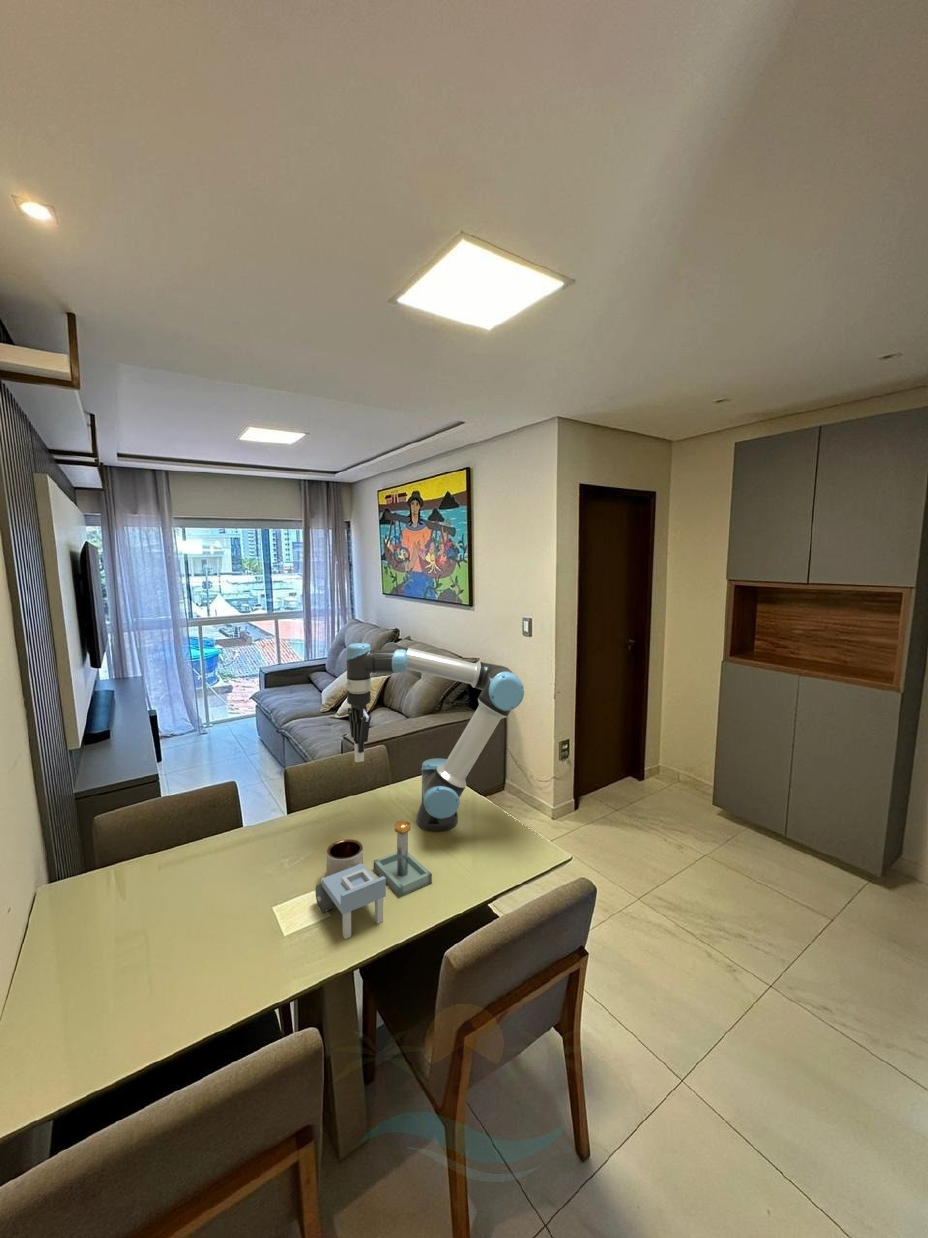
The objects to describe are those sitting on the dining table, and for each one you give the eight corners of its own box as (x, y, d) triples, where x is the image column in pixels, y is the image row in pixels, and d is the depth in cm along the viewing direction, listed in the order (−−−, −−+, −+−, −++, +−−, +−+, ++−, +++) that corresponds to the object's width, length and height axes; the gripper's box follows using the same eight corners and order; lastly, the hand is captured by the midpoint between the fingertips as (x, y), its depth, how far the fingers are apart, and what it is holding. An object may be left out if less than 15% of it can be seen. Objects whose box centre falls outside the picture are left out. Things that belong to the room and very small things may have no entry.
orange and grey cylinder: (392, 872, 150) (391, 823, 148) (405, 866, 152) (405, 818, 151) (399, 879, 146) (399, 830, 144) (412, 874, 149) (413, 825, 147)
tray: (373, 869, 152) (373, 860, 152) (404, 857, 159) (404, 848, 158) (399, 897, 139) (399, 887, 139) (431, 883, 146) (431, 873, 146)
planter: (367, 868, 153) (367, 839, 152) (358, 891, 142) (358, 860, 141) (332, 867, 153) (332, 838, 152) (321, 890, 142) (321, 859, 141)
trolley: (313, 904, 136) (313, 863, 135) (360, 885, 145) (360, 846, 143) (339, 942, 122) (338, 897, 121) (389, 919, 131) (389, 877, 130)
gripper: (339, 688, 163) (340, 757, 165) (356, 697, 153) (357, 770, 155) (360, 685, 168) (361, 752, 170) (378, 693, 157) (378, 764, 160)
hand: (359, 760), depth 163 cm, fingers closed
